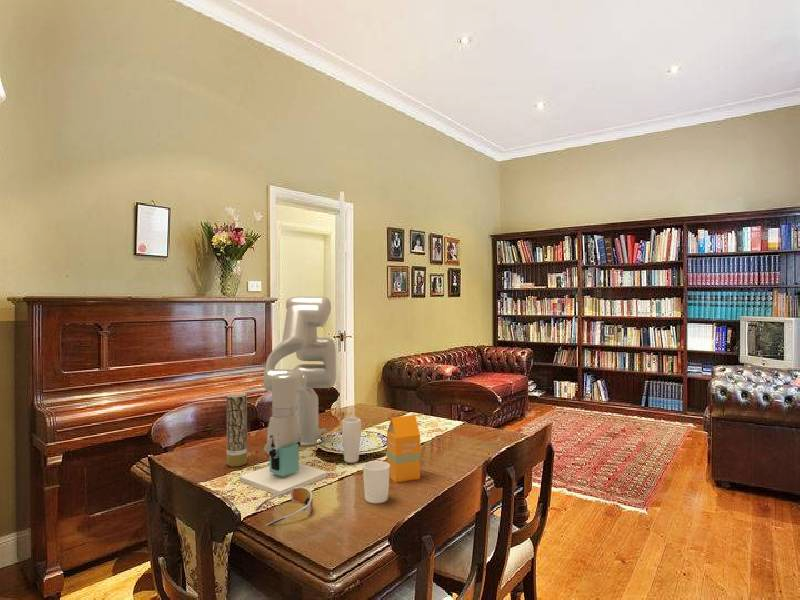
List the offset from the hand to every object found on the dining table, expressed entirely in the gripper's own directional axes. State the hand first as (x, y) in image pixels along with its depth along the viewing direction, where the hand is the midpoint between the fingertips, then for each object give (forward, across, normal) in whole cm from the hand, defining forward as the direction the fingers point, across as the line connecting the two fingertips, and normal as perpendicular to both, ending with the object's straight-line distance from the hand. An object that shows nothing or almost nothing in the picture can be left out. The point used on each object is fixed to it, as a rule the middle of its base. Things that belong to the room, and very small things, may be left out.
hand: (284, 465), depth 160 cm
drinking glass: (+4, -26, +6) cm, 27 cm away
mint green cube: (+2, 0, 0) cm, 2 cm away
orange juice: (+4, -25, +30) cm, 39 cm away
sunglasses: (+5, +16, +19) cm, 25 cm away
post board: (+4, 0, 0) cm, 4 cm away
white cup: (+4, -6, +34) cm, 35 cm away
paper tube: (+4, +1, -24) cm, 24 cm away
